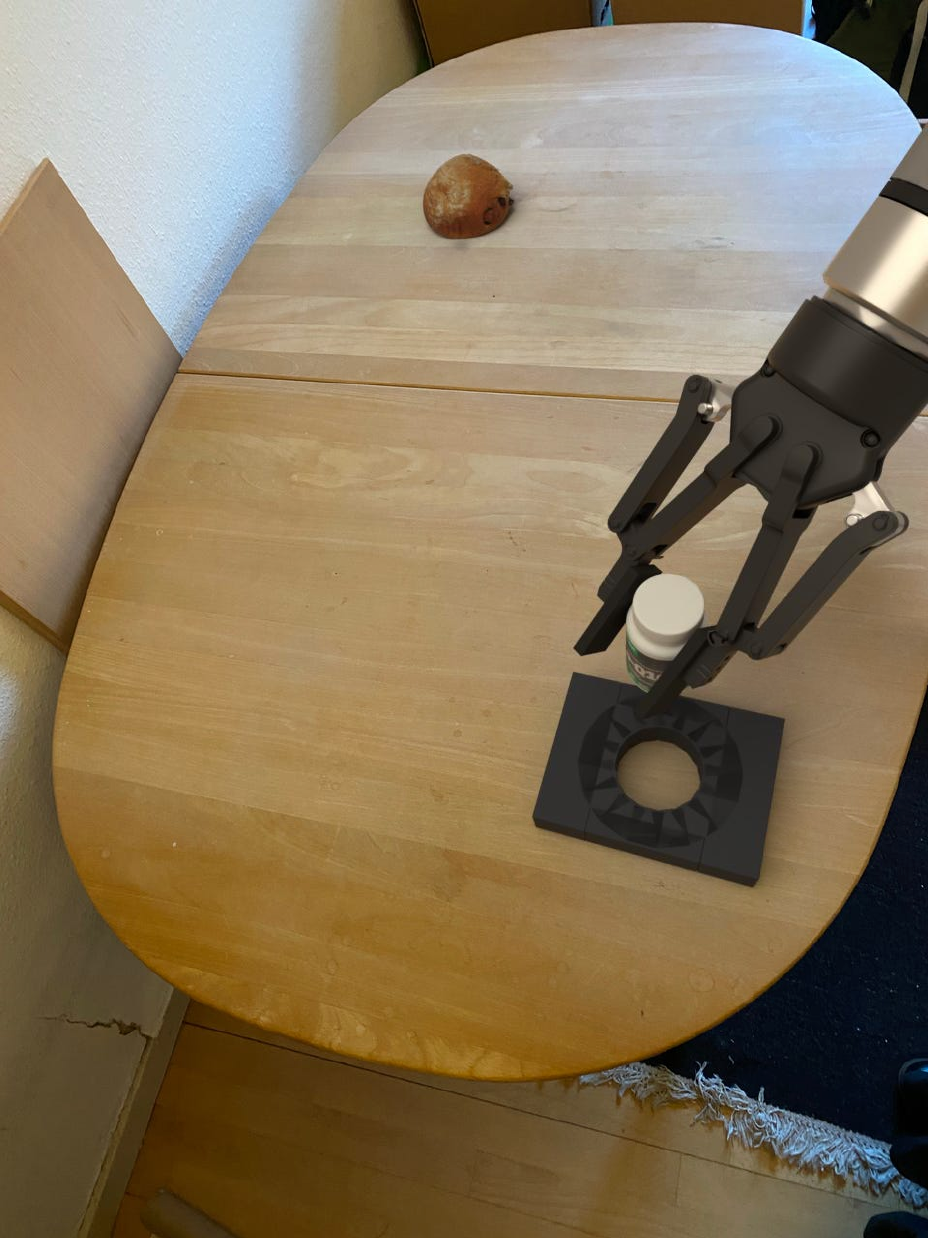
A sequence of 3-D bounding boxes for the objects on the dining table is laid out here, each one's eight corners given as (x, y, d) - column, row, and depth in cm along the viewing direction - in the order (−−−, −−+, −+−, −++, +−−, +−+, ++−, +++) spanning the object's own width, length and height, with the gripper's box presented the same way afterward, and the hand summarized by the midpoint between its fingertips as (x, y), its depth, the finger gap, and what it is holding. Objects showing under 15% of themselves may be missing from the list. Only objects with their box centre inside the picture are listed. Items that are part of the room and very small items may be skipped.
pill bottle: (611, 658, 55) (608, 596, 48) (668, 619, 56) (674, 551, 48) (657, 712, 53) (661, 655, 45) (716, 671, 53) (730, 608, 46)
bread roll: (465, 209, 105) (429, 152, 99) (532, 183, 98) (496, 121, 93) (436, 263, 101) (396, 206, 96) (503, 240, 94) (464, 178, 89)
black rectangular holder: (778, 732, 64) (785, 718, 61) (752, 888, 59) (758, 879, 56) (575, 686, 68) (573, 671, 66) (535, 827, 63) (531, 816, 61)
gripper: (1070, 439, 38) (754, 775, 49) (771, 259, 46) (561, 583, 58) (1041, 425, 32) (693, 807, 44) (708, 224, 41) (490, 589, 52)
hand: (619, 679), depth 51 cm, fingers closed on pill bottle, 5 cm apart
